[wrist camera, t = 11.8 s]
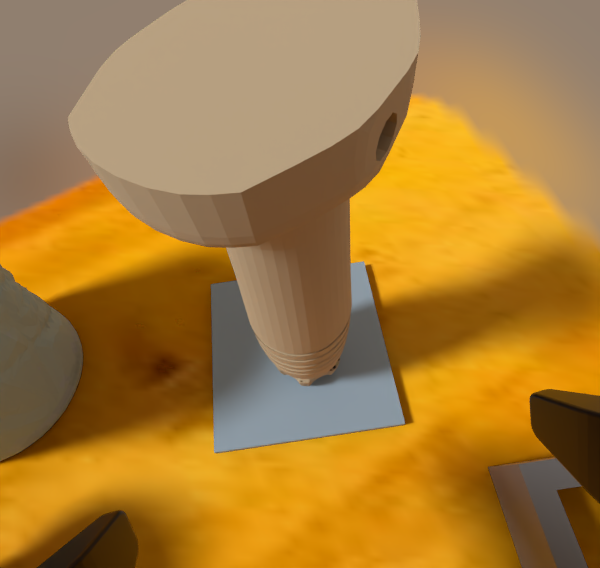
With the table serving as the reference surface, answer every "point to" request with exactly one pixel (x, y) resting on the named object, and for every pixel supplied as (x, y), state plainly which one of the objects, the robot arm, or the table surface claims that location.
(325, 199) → the handle
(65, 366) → the grey cup
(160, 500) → the table surface
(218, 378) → the mat
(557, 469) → the grey square frame
